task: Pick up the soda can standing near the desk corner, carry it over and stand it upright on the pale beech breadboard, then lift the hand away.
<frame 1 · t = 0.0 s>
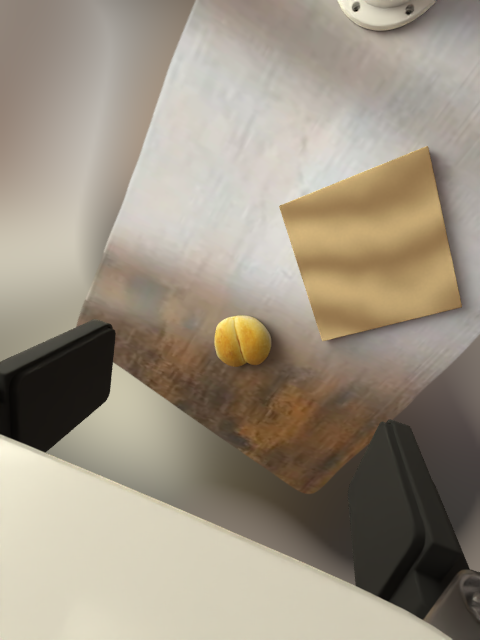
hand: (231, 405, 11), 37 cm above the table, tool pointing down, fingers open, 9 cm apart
bread roll: (243, 339, 51), on the table
breadboard: (367, 254, 43), on the table
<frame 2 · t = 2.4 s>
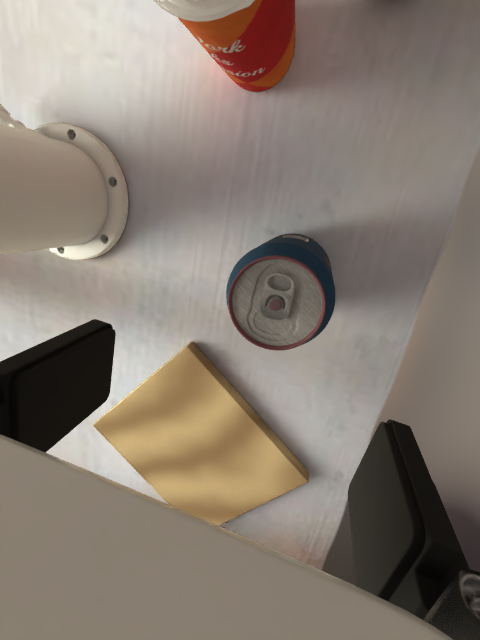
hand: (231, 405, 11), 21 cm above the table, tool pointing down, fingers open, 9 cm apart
paper cup: (259, 52, 25), on the table
soda can: (292, 271, 30), on the table
breadboard: (197, 443, 39), on the table
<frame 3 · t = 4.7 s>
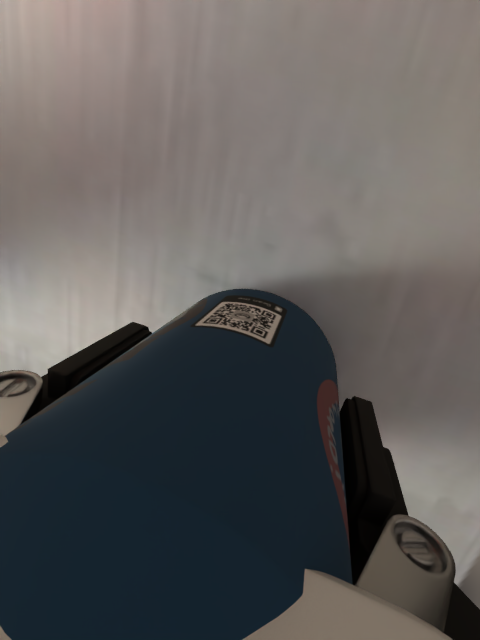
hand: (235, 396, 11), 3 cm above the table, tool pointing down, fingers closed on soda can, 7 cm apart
soda can: (254, 357, 14), on the table, touching gripper
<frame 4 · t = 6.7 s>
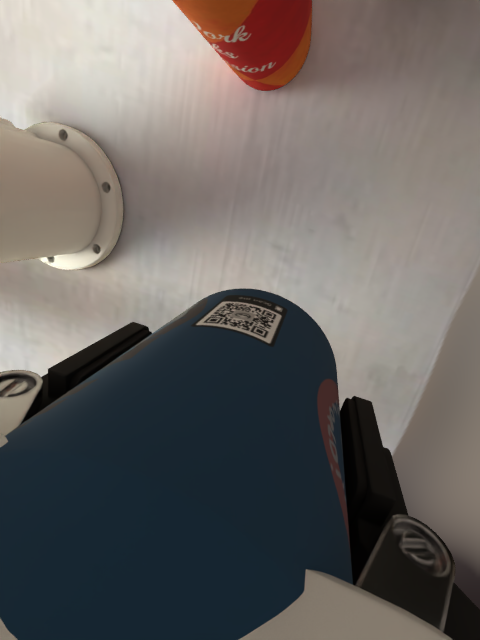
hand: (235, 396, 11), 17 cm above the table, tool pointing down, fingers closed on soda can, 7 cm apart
paper cup: (271, 46, 22), on the table
soda can: (255, 356, 14), point 14 cm above the table, touching gripper
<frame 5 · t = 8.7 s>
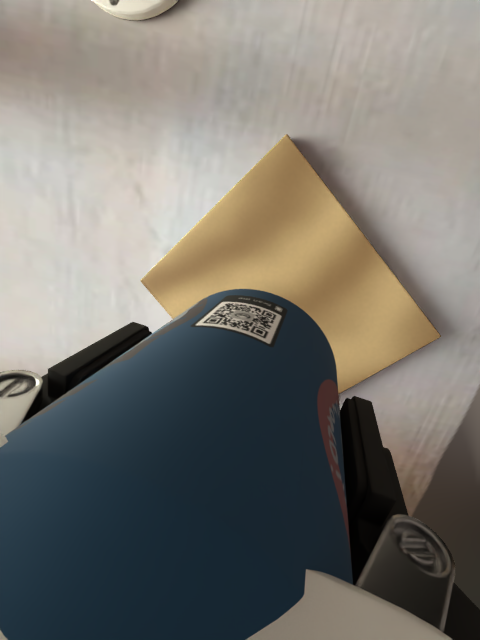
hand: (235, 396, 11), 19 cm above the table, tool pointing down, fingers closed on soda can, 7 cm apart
soda can: (254, 357, 14), point 16 cm above the table, touching gripper
breadboard: (279, 301, 29), on the table
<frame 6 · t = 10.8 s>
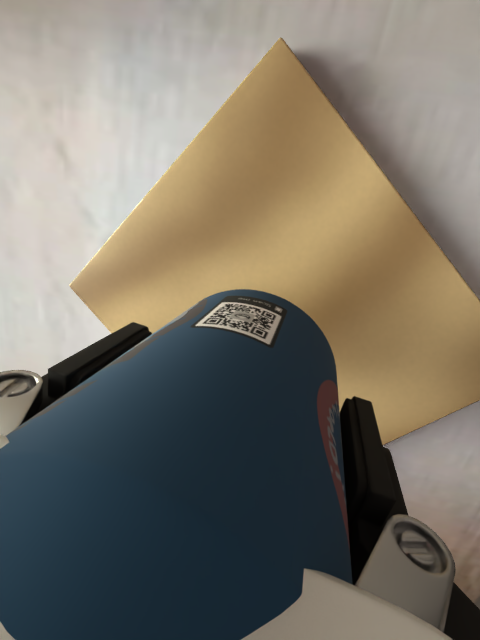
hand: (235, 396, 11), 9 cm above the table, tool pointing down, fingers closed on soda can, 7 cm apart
soda can: (254, 357, 14), point 6 cm above the table, touching gripper
breadboard: (272, 316, 20), on the table
when the fingers open (5 cm above the table, at t = 12.5 s): soda can stays where it is, resting on breadboard.
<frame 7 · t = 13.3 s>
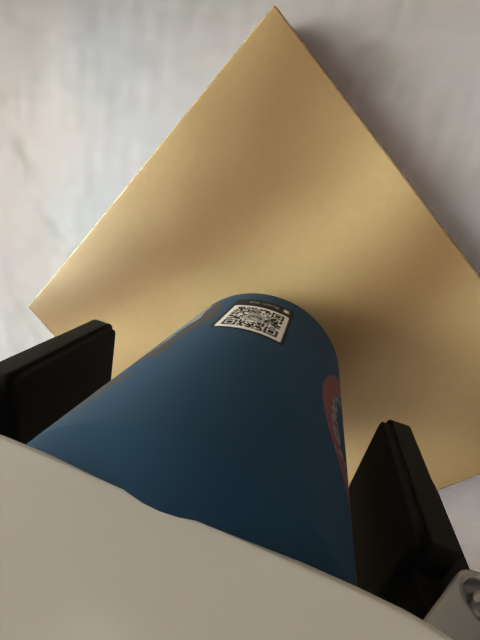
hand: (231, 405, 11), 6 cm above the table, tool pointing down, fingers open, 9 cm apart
soda can: (262, 356, 15), point 1 cm above the table, touching breadboard
breadboard: (266, 346, 16), on the table
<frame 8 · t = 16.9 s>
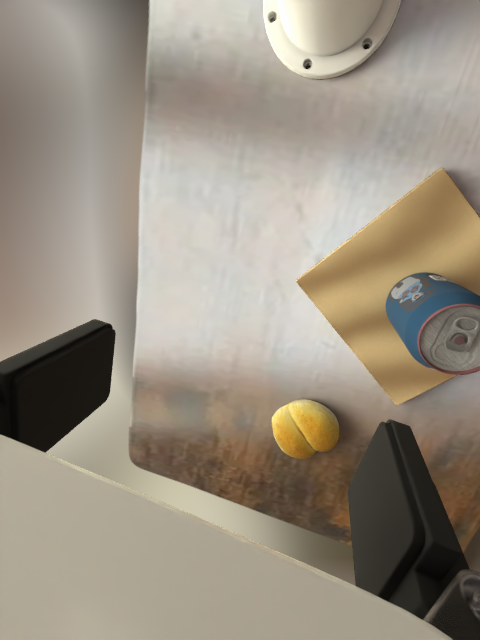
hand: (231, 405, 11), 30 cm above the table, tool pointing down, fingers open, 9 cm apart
soda can: (416, 301, 35), point 1 cm above the table, touching breadboard
bread roll: (304, 423, 45), on the table
breadboard: (413, 298, 36), on the table
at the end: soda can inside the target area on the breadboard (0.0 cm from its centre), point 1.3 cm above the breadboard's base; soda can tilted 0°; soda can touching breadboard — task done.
